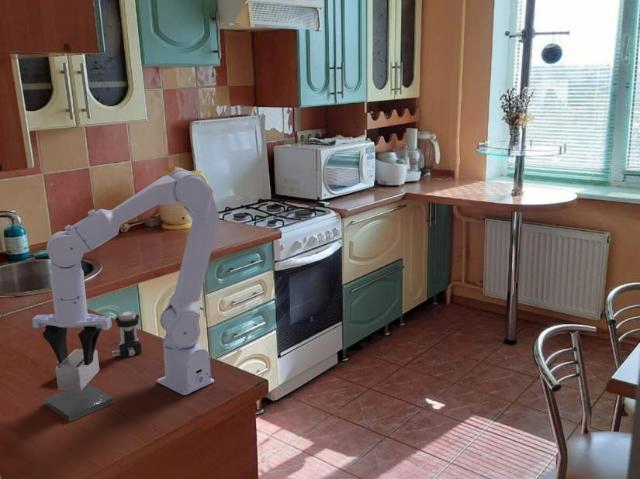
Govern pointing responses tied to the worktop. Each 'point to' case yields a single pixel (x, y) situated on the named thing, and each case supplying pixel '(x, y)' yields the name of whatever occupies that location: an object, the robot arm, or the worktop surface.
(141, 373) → the worktop surface
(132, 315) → the push button
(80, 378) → the block
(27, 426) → the worktop surface
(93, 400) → the stand
